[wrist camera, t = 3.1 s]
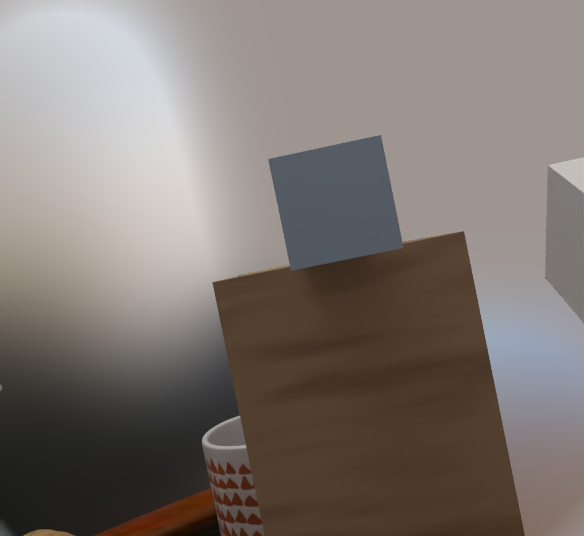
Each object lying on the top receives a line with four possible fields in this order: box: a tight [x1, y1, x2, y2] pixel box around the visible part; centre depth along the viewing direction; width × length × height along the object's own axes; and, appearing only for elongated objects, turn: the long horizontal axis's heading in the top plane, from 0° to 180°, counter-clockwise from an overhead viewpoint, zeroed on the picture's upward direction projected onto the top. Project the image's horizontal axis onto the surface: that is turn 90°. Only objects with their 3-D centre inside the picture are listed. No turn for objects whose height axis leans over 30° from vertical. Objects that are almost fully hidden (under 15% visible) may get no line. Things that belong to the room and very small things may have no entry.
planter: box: [202, 416, 265, 536], centre depth 64 cm, size 14×14×13 cm
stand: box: [213, 232, 525, 536], centre depth 41 cm, size 20×14×30 cm
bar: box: [269, 135, 403, 271], centre depth 34 cm, size 30×4×4 cm, turn 177°
